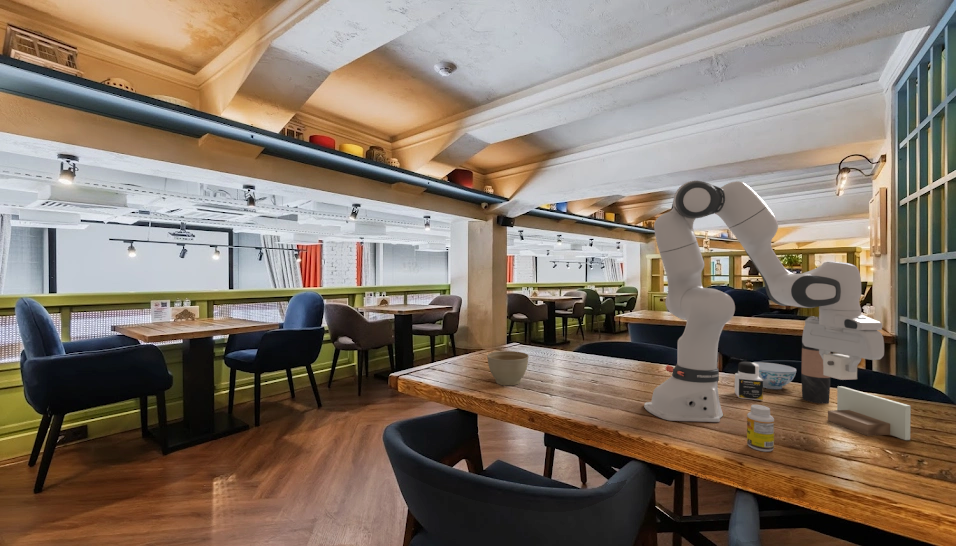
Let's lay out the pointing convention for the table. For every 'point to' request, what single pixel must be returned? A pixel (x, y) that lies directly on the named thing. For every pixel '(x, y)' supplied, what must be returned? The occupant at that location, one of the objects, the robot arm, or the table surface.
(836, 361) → the cabinet block
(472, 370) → the table surface
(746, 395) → the medicine bottle
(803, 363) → the travel mug
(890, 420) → the wall board
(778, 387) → the chinaware
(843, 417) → the cleat ledge
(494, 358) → the planter bowl
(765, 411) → the supplement bottle
